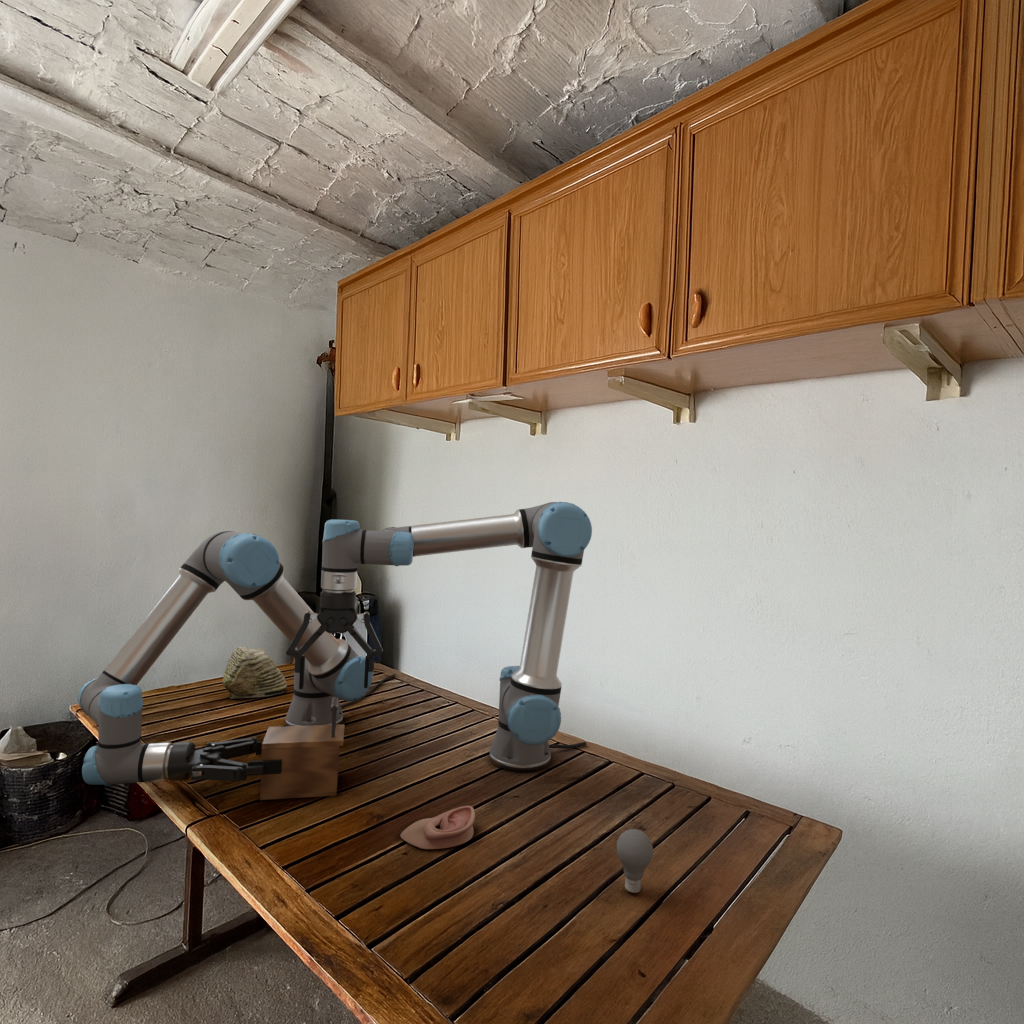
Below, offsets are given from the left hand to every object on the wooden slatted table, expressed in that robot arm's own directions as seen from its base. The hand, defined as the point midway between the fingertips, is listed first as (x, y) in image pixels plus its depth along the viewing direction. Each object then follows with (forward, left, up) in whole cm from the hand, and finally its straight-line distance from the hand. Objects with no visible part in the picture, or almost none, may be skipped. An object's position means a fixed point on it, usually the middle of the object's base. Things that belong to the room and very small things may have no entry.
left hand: (284, 756), depth 137 cm
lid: (-3, +3, +4) cm, 5 cm away
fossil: (-28, -63, -7) cm, 69 cm away
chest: (-3, +2, -7) cm, 8 cm away
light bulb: (-19, +74, -7) cm, 77 cm away
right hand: (-8, +6, +15) cm, 18 cm away
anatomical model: (-9, +38, -7) cm, 40 cm away
